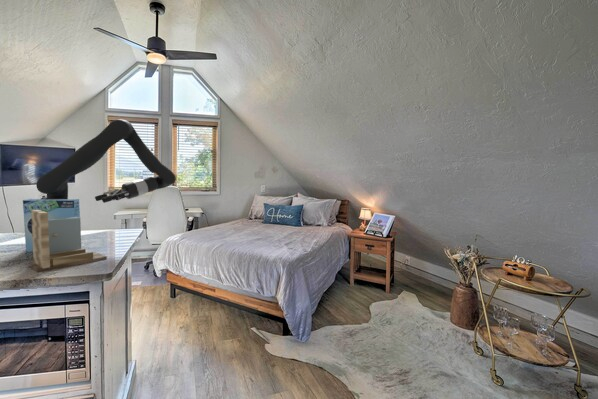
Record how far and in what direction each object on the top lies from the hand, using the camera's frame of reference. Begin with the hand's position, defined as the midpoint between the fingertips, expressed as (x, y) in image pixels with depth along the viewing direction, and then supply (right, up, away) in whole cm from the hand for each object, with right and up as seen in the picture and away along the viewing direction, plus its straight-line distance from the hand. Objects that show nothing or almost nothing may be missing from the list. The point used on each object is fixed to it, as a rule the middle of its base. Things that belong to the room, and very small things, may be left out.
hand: (99, 199), depth 135 cm
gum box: (-20, -23, 0) cm, 30 cm away
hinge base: (-1, -25, -16) cm, 29 cm away
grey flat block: (-9, -24, -9) cm, 27 cm away
